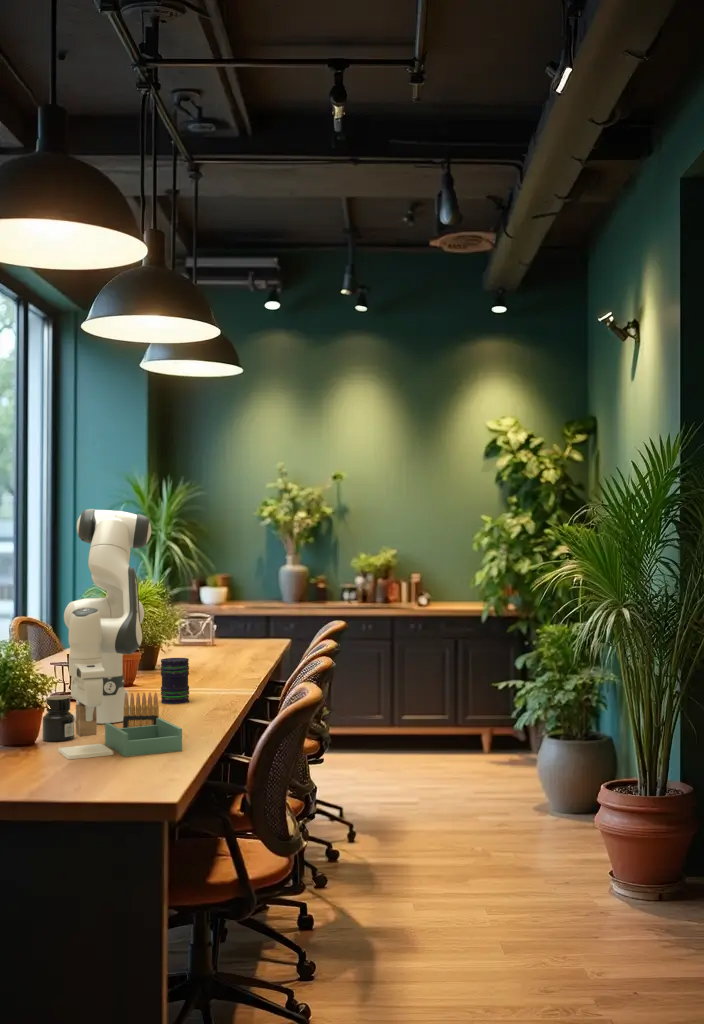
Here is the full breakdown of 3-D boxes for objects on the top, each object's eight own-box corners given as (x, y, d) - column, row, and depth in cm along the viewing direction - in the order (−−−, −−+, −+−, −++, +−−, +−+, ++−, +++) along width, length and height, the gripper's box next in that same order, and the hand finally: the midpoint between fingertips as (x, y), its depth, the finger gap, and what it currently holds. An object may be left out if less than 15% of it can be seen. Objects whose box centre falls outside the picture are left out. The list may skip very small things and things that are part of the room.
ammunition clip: (159, 731, 327) (159, 691, 327) (158, 732, 325) (158, 692, 325) (123, 732, 327) (123, 692, 327) (122, 733, 325) (122, 693, 325)
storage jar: (191, 699, 388) (191, 657, 388) (186, 704, 378) (186, 661, 378) (163, 699, 388) (163, 657, 388) (158, 704, 378) (157, 661, 378)
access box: (105, 743, 309) (105, 722, 309) (159, 738, 316) (159, 717, 316) (124, 756, 291) (124, 734, 291) (182, 750, 299) (182, 728, 299)
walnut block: (75, 734, 297) (75, 704, 297) (92, 732, 299) (92, 703, 300) (79, 736, 293) (79, 706, 293) (96, 735, 295) (96, 705, 296)
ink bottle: (74, 741, 313) (74, 699, 313) (42, 743, 311) (42, 701, 311) (73, 735, 323) (73, 694, 323) (42, 737, 320) (42, 696, 320)
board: (58, 751, 299) (58, 747, 299) (101, 747, 304) (101, 743, 304) (68, 759, 288) (68, 755, 288) (113, 754, 294) (113, 751, 294)
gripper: (65, 665, 304) (65, 714, 304) (83, 673, 286) (83, 726, 286) (87, 663, 307) (88, 712, 307) (106, 671, 289) (107, 723, 289)
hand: (86, 719), depth 296 cm, fingers closed on walnut block, 4 cm apart
